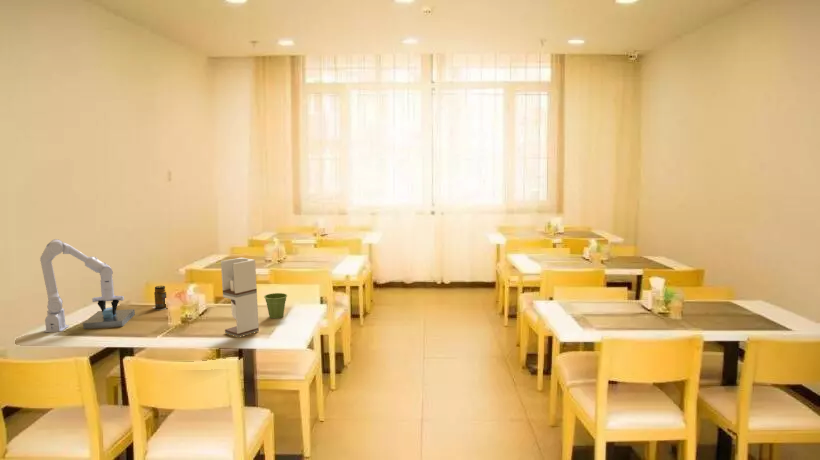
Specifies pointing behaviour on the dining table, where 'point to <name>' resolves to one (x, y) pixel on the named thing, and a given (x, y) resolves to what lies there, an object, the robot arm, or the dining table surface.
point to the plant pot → (275, 304)
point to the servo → (108, 313)
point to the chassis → (109, 319)
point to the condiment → (160, 298)
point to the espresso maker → (241, 294)
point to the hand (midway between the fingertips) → (109, 314)
